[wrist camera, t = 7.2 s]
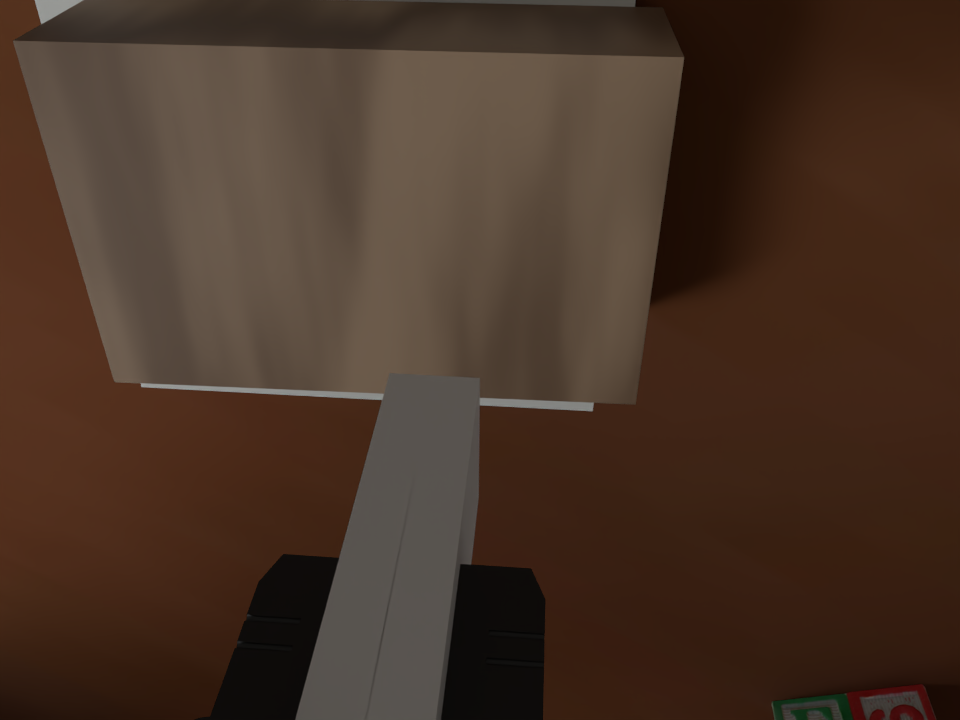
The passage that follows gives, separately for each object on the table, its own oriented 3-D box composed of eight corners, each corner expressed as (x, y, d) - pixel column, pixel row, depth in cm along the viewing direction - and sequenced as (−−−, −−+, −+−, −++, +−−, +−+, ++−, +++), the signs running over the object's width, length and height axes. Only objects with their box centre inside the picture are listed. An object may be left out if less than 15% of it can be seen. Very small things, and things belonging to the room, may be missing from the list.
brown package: (623, 318, 26) (168, 301, 27) (662, 6, 21) (95, -7, 22) (635, 404, 23) (114, 382, 24) (684, 57, 18) (12, 41, 18)
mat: (146, 380, 30) (141, 386, 29) (-4, -174, 20) (-13, -172, 20) (592, 403, 29) (592, 410, 28) (650, -165, 19) (652, -163, 19)
